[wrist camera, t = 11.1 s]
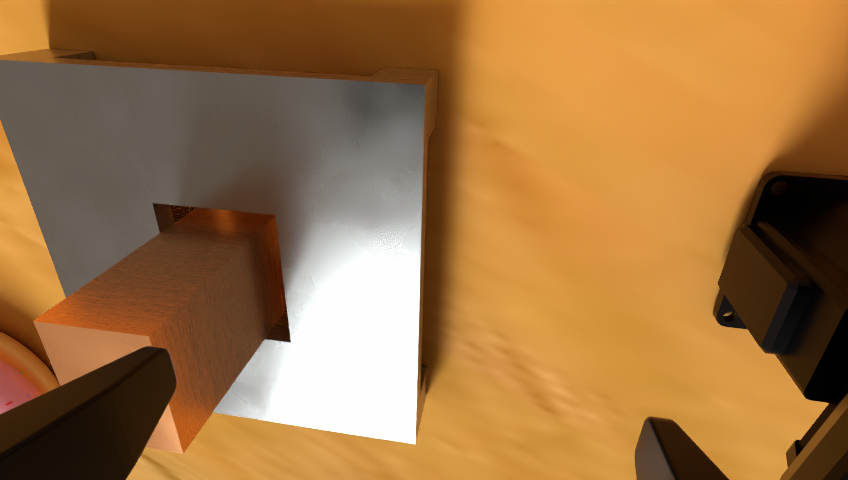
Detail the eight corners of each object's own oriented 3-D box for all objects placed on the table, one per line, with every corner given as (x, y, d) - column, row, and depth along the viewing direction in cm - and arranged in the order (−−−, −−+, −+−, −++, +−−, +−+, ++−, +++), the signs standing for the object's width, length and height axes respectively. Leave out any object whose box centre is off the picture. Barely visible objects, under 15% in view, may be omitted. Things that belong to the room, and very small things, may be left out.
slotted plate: (438, 69, 18) (425, 84, 15) (425, 396, 25) (415, 444, 23) (48, 48, 20) (-22, 58, 18) (141, 355, 28) (101, 394, 25)
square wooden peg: (291, 200, 21) (148, 336, 13) (301, 287, 24) (183, 453, 15) (216, 193, 22) (33, 321, 14) (232, 280, 24) (81, 436, 16)
